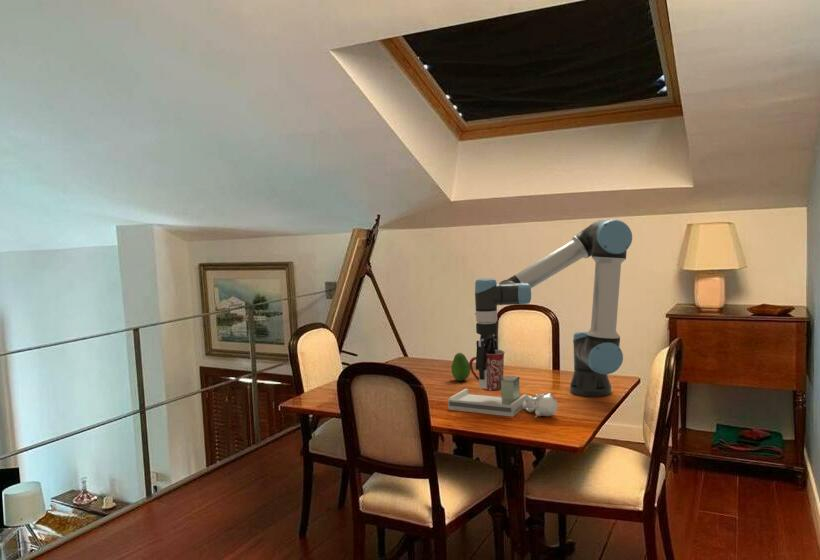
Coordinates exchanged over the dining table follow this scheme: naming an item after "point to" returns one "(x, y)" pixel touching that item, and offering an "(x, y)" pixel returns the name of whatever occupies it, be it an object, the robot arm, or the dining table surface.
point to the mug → (492, 370)
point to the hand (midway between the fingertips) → (488, 385)
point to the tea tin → (510, 389)
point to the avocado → (460, 367)
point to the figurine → (541, 404)
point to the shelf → (484, 404)
